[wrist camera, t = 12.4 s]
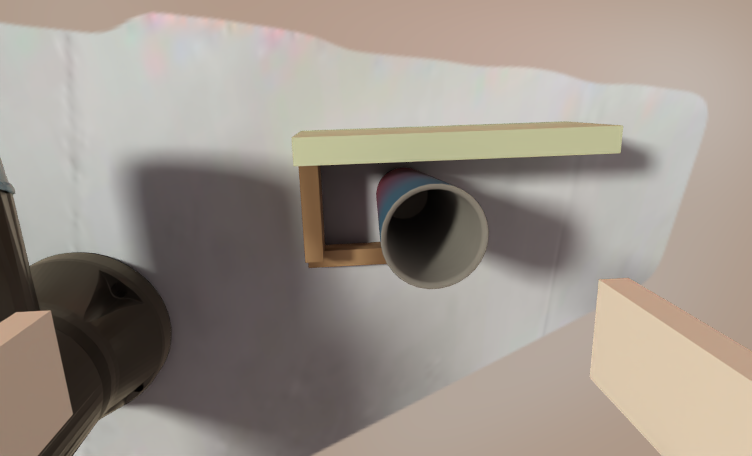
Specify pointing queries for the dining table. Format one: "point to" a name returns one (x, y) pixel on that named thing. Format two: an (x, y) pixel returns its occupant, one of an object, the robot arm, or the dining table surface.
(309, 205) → the bracket
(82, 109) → the dining table surface
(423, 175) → the cup
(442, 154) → the wall board
